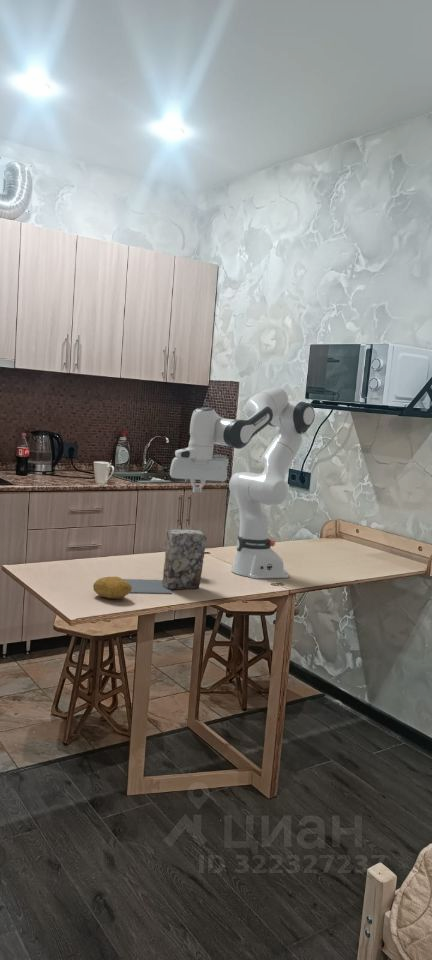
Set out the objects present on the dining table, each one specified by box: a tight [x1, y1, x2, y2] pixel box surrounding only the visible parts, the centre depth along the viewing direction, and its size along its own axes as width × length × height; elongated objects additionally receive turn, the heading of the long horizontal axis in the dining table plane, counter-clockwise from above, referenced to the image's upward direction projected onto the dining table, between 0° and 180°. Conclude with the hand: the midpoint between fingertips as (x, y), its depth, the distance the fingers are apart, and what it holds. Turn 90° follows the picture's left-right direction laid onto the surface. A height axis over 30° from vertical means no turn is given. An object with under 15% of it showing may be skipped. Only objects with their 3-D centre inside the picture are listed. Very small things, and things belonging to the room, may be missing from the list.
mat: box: [122, 578, 173, 595], centre depth 244 cm, size 19×16×1 cm
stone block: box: [162, 529, 207, 590], centre depth 247 cm, size 13×7×20 cm, turn 124°
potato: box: [92, 576, 132, 600], centre depth 228 cm, size 9×13×7 cm
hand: (197, 492), depth 252 cm, fingers closed
